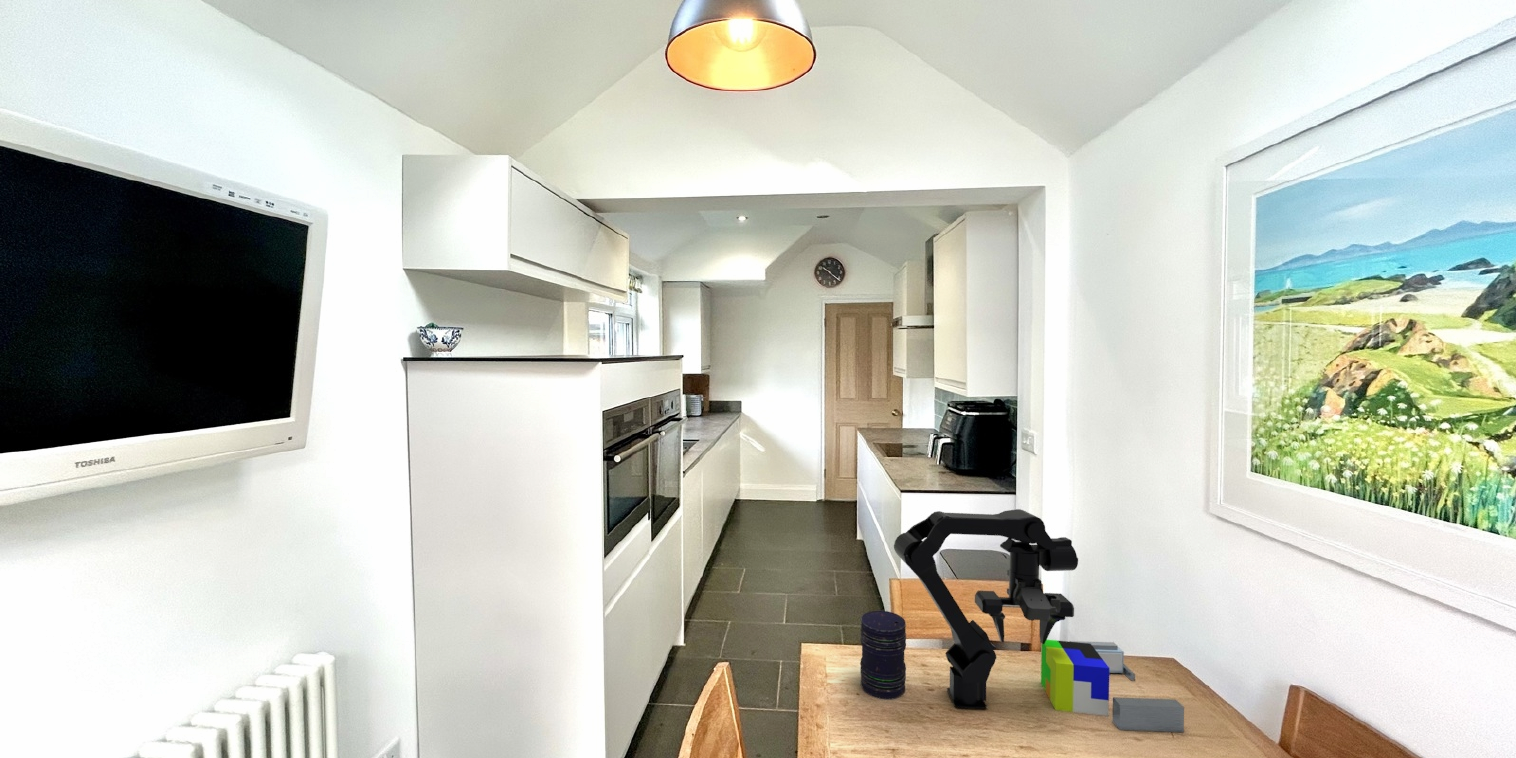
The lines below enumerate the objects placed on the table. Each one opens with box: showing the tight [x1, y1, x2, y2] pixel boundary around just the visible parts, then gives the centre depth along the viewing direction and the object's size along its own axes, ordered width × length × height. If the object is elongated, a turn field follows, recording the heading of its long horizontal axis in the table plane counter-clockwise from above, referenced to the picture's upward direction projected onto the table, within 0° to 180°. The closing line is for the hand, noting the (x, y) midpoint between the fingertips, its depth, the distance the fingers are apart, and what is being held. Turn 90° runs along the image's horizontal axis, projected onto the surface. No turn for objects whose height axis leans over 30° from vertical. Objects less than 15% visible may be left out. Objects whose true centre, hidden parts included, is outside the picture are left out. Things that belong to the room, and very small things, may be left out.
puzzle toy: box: [1040, 639, 1110, 717], centre depth 119 cm, size 10×10×10 cm
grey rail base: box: [1111, 663, 1185, 733], centre depth 121 cm, size 14×25×5 cm, turn 176°
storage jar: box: [859, 610, 907, 700], centre depth 124 cm, size 10×10×15 cm
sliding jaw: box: [1069, 640, 1125, 674], centre depth 130 cm, size 12×3×6 cm, turn 86°
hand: (1022, 642), depth 120 cm, fingers open, 8 cm apart
